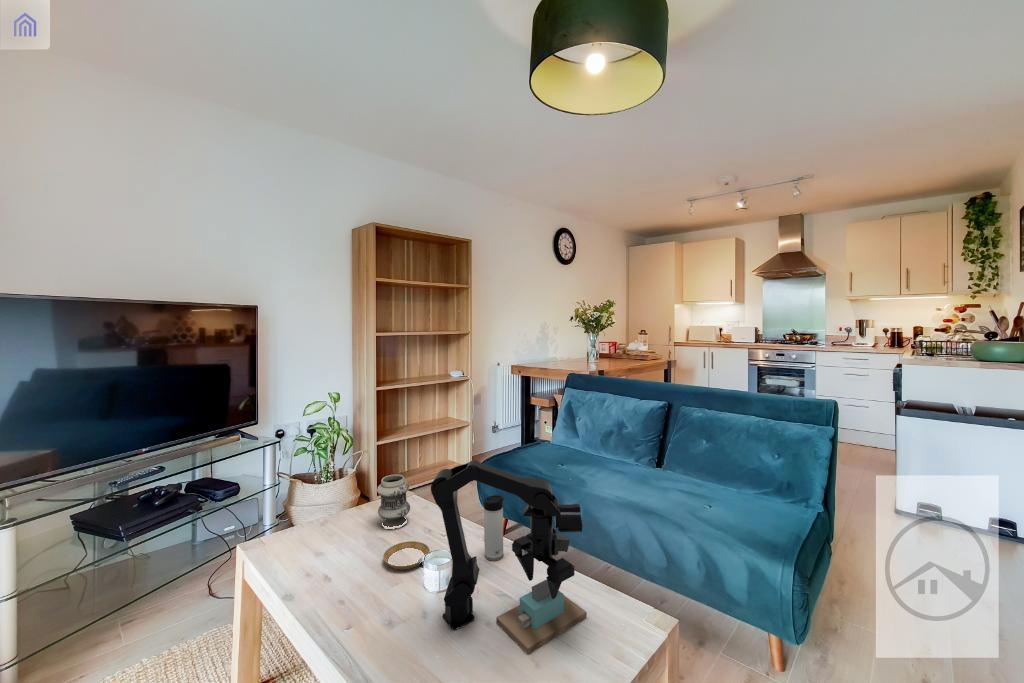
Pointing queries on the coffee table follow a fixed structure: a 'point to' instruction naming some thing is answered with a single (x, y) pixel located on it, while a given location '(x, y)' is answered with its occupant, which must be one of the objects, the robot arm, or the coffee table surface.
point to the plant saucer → (403, 545)
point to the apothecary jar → (393, 500)
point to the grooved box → (541, 604)
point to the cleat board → (536, 638)
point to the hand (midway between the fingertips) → (542, 588)
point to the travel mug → (493, 527)
